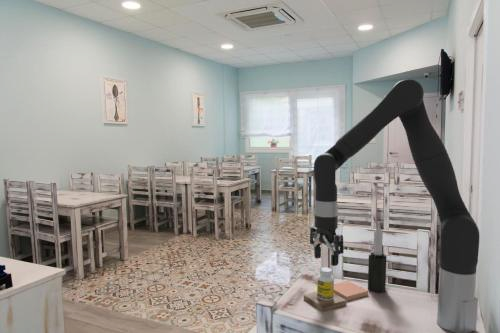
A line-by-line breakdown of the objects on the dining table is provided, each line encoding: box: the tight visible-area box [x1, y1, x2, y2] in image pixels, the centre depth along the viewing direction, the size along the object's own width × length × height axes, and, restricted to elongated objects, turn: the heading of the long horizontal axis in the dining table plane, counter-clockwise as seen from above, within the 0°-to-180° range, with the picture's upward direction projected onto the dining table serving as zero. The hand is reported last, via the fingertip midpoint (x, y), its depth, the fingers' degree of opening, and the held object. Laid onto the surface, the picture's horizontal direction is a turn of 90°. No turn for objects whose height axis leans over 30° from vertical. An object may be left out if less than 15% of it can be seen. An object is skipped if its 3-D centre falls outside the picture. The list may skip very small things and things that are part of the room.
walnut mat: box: [303, 291, 347, 312], centre depth 122 cm, size 10×10×2 cm
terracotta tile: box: [334, 280, 369, 302], centre depth 129 cm, size 10×10×2 cm
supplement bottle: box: [316, 266, 335, 301], centre depth 121 cm, size 5×5×10 cm
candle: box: [367, 222, 387, 295], centre depth 130 cm, size 5×5×25 cm
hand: (325, 261), depth 120 cm, fingers open, 8 cm apart
